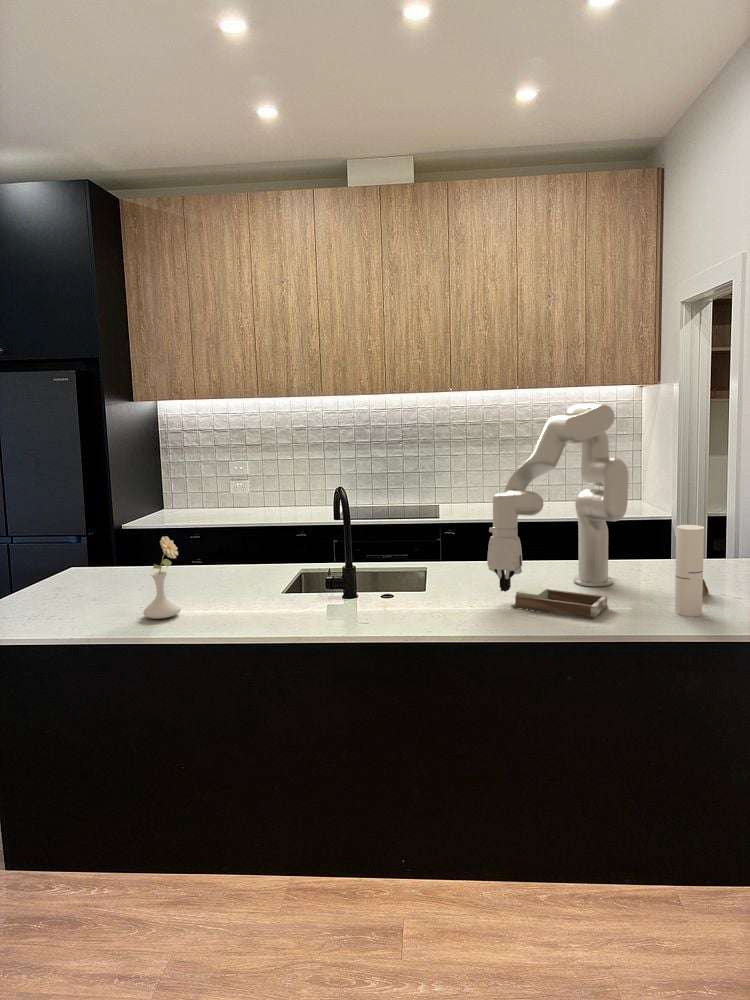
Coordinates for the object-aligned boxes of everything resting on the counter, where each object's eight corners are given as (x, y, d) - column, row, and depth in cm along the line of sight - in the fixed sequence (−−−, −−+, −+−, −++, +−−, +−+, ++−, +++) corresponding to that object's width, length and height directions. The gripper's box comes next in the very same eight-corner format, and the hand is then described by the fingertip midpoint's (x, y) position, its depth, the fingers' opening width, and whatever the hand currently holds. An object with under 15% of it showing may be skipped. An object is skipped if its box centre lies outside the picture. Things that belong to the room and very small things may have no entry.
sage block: (526, 596, 226) (526, 585, 225) (548, 599, 222) (547, 588, 221) (516, 603, 219) (515, 592, 218) (537, 606, 215) (537, 594, 214)
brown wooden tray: (528, 596, 228) (527, 585, 227) (607, 607, 214) (608, 595, 213) (511, 607, 217) (510, 596, 217) (593, 619, 203) (594, 607, 203)
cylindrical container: (704, 616, 202) (706, 529, 198) (677, 616, 203) (679, 529, 200) (698, 608, 209) (700, 524, 205) (672, 608, 210) (674, 524, 206)
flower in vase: (161, 624, 217) (153, 543, 213) (135, 619, 223) (128, 540, 219) (193, 611, 228) (186, 534, 224) (168, 607, 234) (161, 532, 230)
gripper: (477, 532, 223) (478, 589, 226) (522, 537, 215) (522, 596, 217) (488, 528, 229) (488, 584, 232) (532, 532, 221) (532, 590, 223)
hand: (505, 590), depth 224 cm, fingers closed
